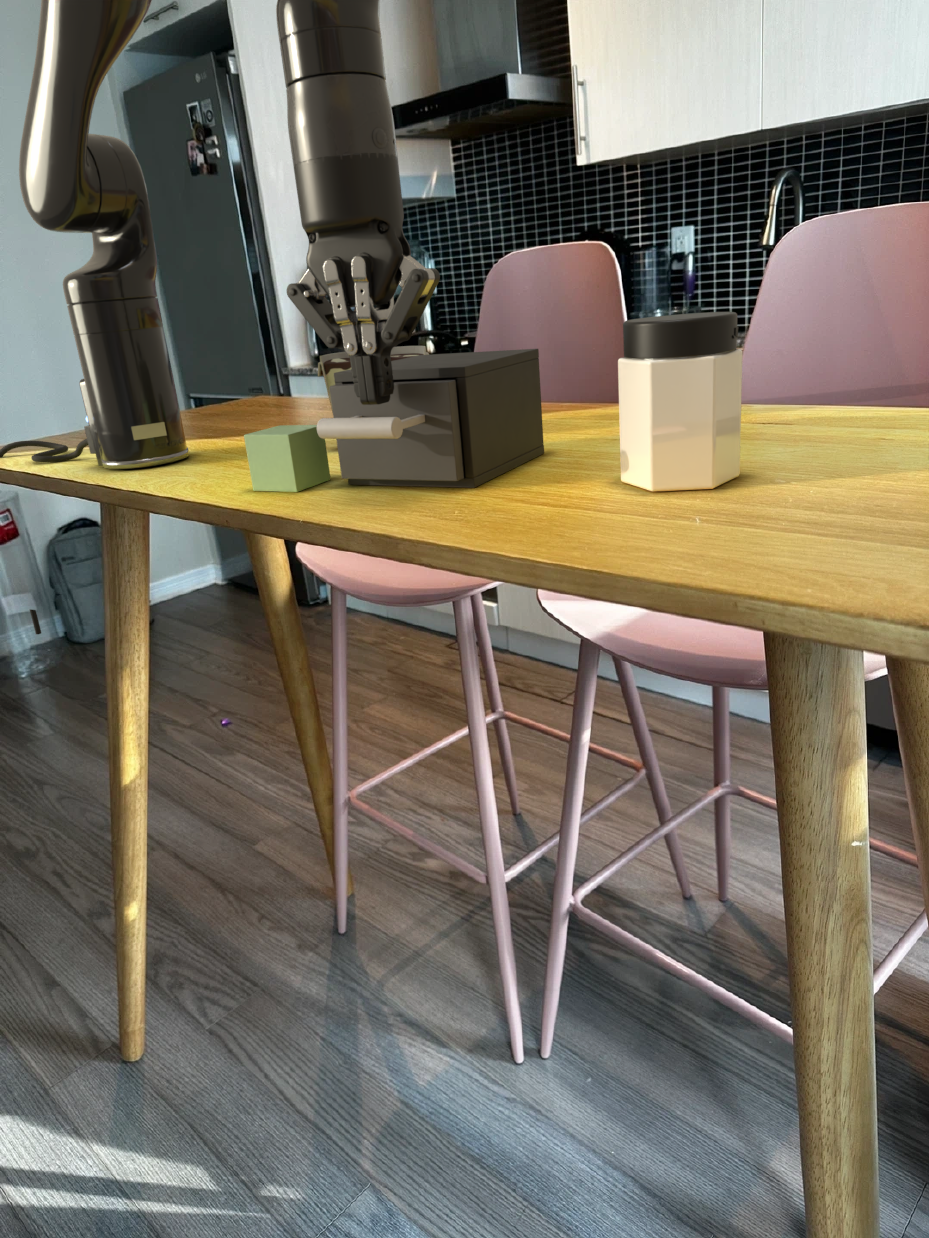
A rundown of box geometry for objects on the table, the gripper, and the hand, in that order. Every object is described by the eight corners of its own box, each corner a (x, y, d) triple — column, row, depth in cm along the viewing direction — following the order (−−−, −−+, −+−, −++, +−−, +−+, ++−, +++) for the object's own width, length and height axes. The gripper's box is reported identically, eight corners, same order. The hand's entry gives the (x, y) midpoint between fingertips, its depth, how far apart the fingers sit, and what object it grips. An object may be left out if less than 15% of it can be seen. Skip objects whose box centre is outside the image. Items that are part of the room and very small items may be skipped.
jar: (760, 481, 66) (766, 311, 61) (665, 498, 63) (664, 322, 59) (692, 463, 74) (692, 312, 69) (605, 478, 71) (600, 322, 67)
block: (253, 490, 79) (243, 434, 77) (288, 478, 83) (279, 425, 82) (297, 492, 77) (288, 434, 75) (331, 479, 81) (323, 424, 79)
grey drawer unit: (474, 488, 72) (464, 366, 69) (348, 484, 78) (333, 373, 75) (544, 453, 84) (538, 348, 81) (430, 452, 90) (420, 355, 87)
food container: (446, 434, 101) (437, 342, 97) (439, 443, 95) (430, 346, 92) (340, 441, 102) (328, 352, 99) (328, 451, 96) (314, 356, 93)
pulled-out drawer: (424, 497, 66) (413, 391, 64) (303, 493, 72) (288, 395, 69) (526, 449, 82) (520, 362, 79) (420, 449, 87) (412, 367, 84)
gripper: (450, 147, 63) (472, 394, 69) (303, 175, 70) (335, 399, 76) (395, 137, 57) (424, 408, 63) (240, 168, 63) (279, 412, 69)
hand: (375, 403), depth 69 cm, fingers closed
